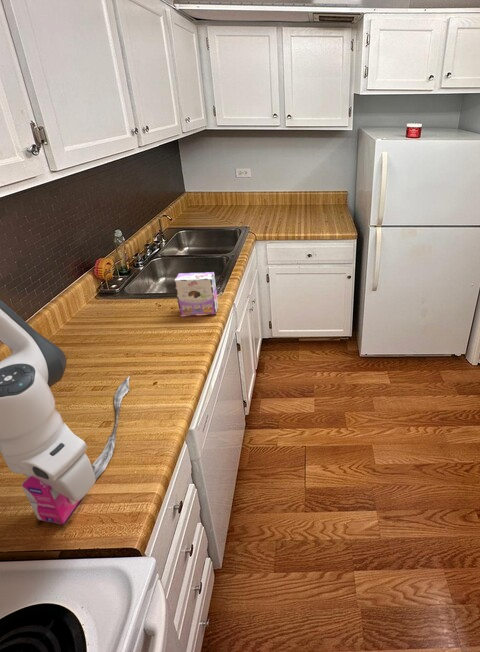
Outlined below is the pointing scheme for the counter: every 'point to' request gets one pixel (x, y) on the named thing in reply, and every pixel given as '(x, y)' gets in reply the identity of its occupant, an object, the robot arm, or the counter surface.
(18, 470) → the robot arm
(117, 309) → the counter surface
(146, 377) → the counter surface
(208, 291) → the candy box
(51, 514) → the supplement box
